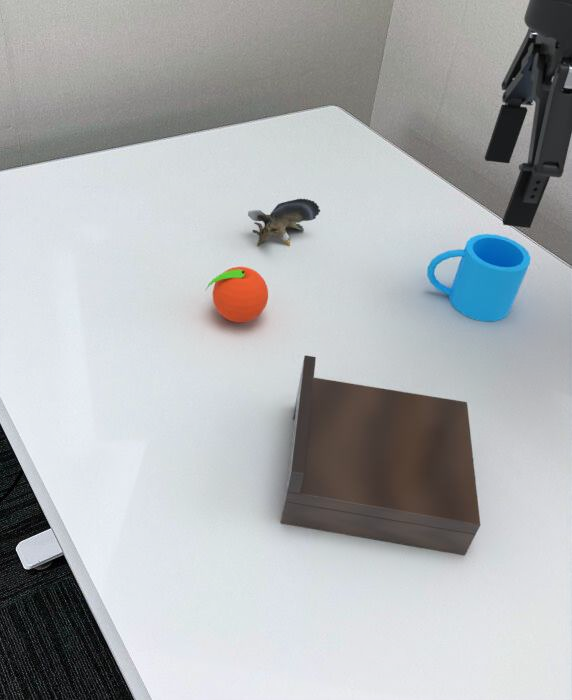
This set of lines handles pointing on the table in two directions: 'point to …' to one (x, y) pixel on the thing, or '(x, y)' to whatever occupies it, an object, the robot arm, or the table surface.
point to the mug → (484, 276)
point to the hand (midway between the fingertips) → (505, 190)
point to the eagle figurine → (284, 218)
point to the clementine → (239, 294)
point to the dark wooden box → (381, 465)
